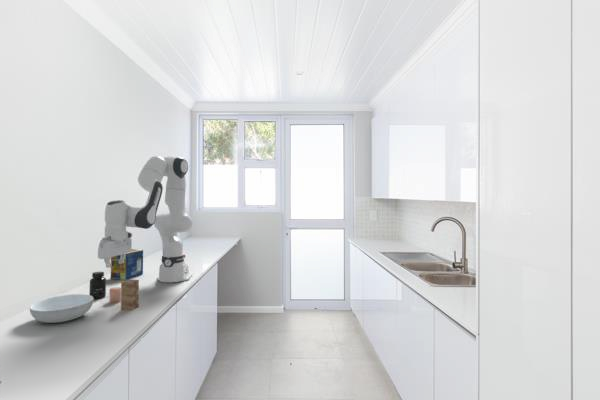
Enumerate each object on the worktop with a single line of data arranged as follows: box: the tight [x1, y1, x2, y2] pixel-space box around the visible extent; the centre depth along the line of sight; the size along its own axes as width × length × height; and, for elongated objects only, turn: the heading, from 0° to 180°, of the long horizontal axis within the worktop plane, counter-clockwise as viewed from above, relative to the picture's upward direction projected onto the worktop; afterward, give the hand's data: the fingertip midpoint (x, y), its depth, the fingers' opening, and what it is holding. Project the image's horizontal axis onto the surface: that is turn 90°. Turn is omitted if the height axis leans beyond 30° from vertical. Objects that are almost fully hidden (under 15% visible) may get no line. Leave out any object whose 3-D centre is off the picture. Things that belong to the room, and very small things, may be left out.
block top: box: [120, 279, 140, 292], centre depth 150 cm, size 5×5×4 cm
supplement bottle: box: [88, 271, 107, 300], centre depth 165 cm, size 7×7×12 cm
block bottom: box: [120, 297, 140, 311], centre depth 150 cm, size 5×5×4 cm
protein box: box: [110, 248, 144, 281], centre depth 206 cm, size 10×15×16 cm
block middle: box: [120, 289, 140, 302], centre depth 150 cm, size 5×5×4 cm
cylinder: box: [109, 286, 121, 304], centre depth 159 cm, size 5×5×6 cm
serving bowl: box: [29, 293, 95, 324], centre depth 136 cm, size 21×21×7 cm
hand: (115, 265), depth 159 cm, fingers open, 8 cm apart
